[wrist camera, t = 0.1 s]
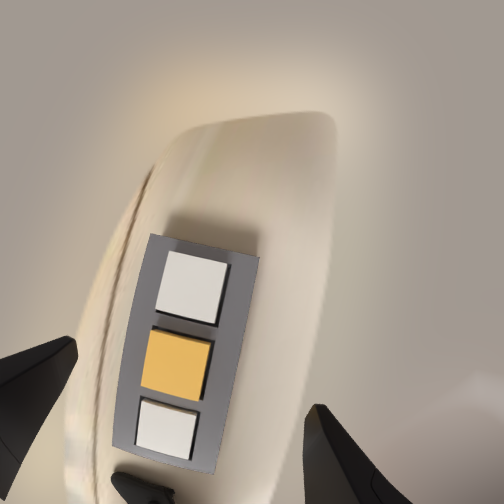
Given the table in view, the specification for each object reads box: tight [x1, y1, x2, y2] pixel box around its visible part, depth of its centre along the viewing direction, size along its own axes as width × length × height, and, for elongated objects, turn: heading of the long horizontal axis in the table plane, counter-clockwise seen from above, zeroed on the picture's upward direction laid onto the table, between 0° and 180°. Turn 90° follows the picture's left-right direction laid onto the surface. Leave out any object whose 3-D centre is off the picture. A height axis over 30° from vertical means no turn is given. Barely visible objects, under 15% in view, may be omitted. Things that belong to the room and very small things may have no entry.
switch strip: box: [112, 234, 260, 474], centre depth 21 cm, size 19×9×3 cm, turn 169°
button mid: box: [141, 329, 211, 401], centre depth 19 cm, size 4×4×2 cm
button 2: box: [155, 251, 227, 323], centre depth 21 cm, size 4×4×2 cm
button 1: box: [136, 397, 198, 460], centre depth 19 cm, size 4×4×2 cm
